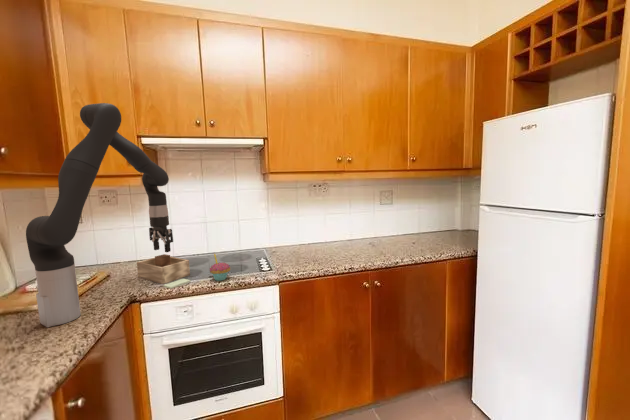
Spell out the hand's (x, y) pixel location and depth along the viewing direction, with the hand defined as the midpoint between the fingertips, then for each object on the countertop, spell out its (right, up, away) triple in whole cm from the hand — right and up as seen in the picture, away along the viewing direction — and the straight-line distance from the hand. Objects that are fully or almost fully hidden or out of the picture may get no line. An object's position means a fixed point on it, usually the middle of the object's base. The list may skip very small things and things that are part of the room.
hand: (162, 250), depth 132 cm
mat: (+11, -13, -10) cm, 19 cm away
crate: (0, -12, +1) cm, 12 cm away
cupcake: (+28, -12, -4) cm, 31 cm away
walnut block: (0, -9, +1) cm, 9 cm away
